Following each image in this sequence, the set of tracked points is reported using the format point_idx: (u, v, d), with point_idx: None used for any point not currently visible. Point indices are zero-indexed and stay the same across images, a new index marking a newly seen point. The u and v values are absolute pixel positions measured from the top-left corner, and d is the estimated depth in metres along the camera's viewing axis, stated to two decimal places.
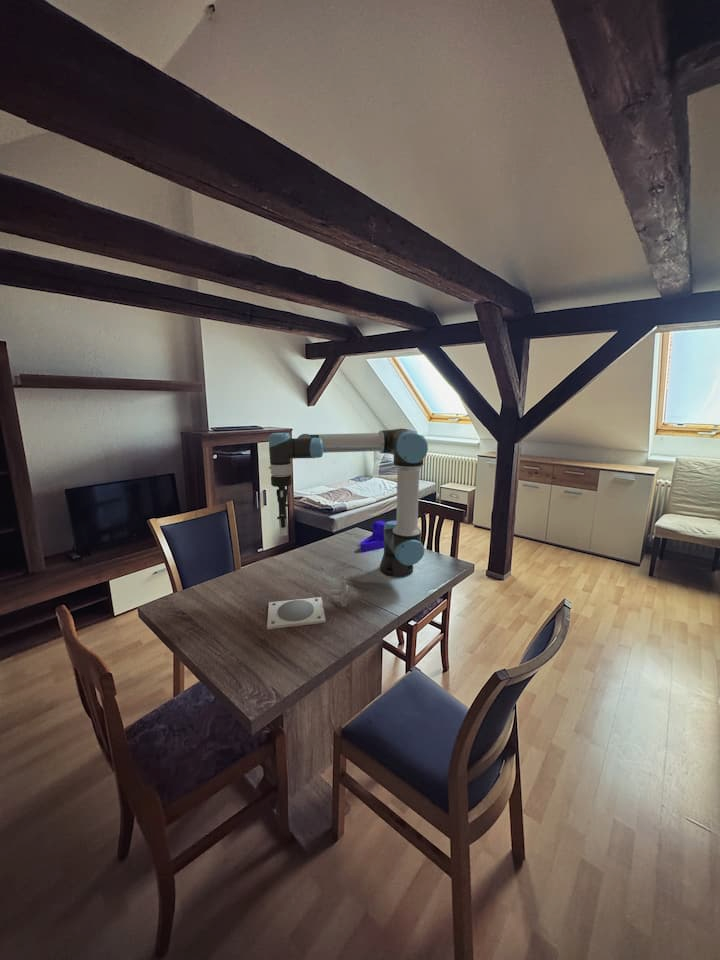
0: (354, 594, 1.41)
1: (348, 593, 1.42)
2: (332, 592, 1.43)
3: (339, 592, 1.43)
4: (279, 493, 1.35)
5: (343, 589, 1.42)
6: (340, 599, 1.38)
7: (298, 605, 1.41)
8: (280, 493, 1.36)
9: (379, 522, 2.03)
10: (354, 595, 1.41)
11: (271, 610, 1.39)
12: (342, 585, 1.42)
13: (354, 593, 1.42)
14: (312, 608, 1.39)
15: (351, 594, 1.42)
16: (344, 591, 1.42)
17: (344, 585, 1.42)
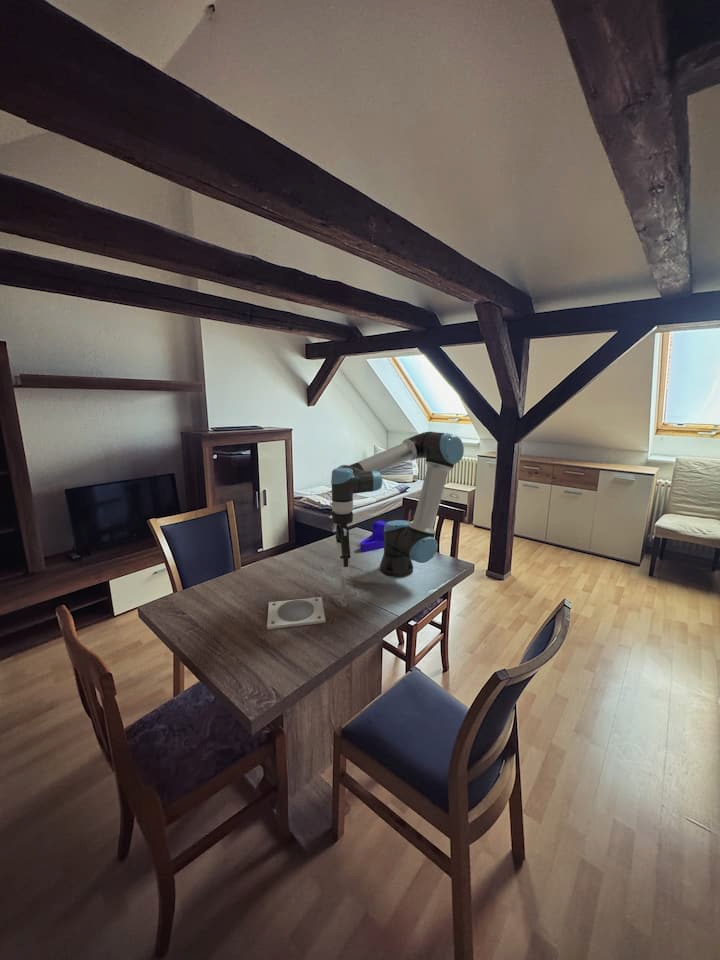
0: (354, 594, 1.41)
1: (348, 593, 1.42)
2: (332, 592, 1.43)
3: (339, 592, 1.43)
4: (343, 532, 1.31)
5: (343, 589, 1.42)
6: (340, 599, 1.38)
7: (298, 605, 1.41)
8: (344, 532, 1.31)
9: (379, 522, 2.03)
10: (354, 595, 1.41)
11: (271, 610, 1.39)
12: (342, 585, 1.42)
13: (354, 593, 1.42)
14: (312, 608, 1.39)
15: (351, 594, 1.42)
16: (344, 591, 1.42)
17: (344, 585, 1.42)
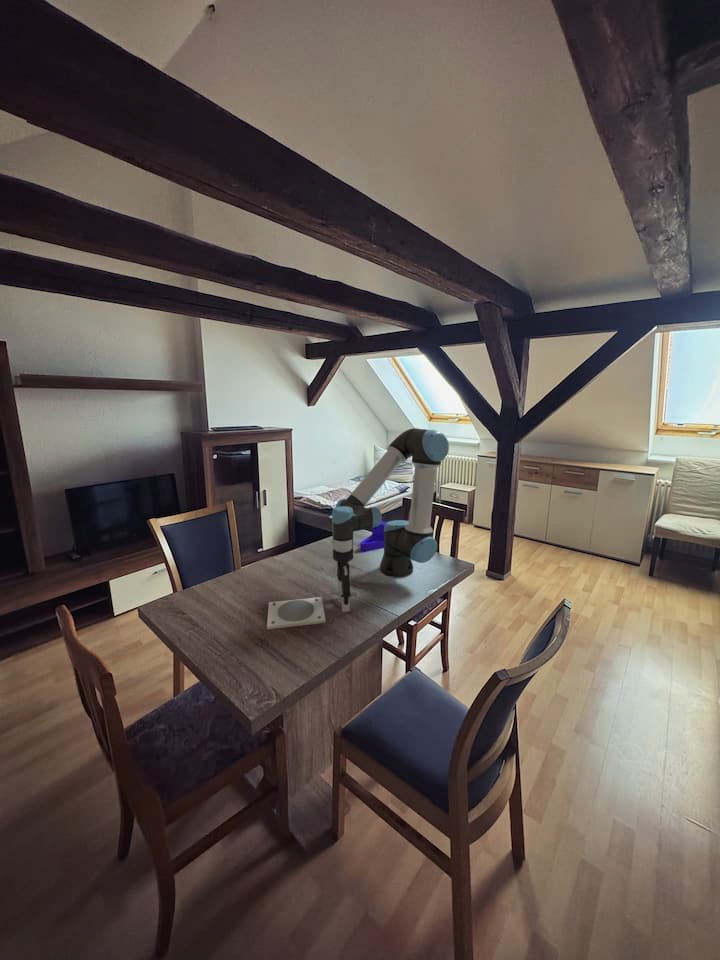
0: (354, 594, 1.41)
1: None
2: (332, 592, 1.43)
3: (339, 592, 1.43)
4: (343, 572, 1.34)
5: None
6: (340, 599, 1.38)
7: (298, 605, 1.41)
8: (344, 572, 1.34)
9: None
10: (354, 595, 1.41)
11: (271, 610, 1.39)
12: None
13: (354, 593, 1.42)
14: (312, 608, 1.39)
15: (351, 594, 1.42)
16: None
17: None
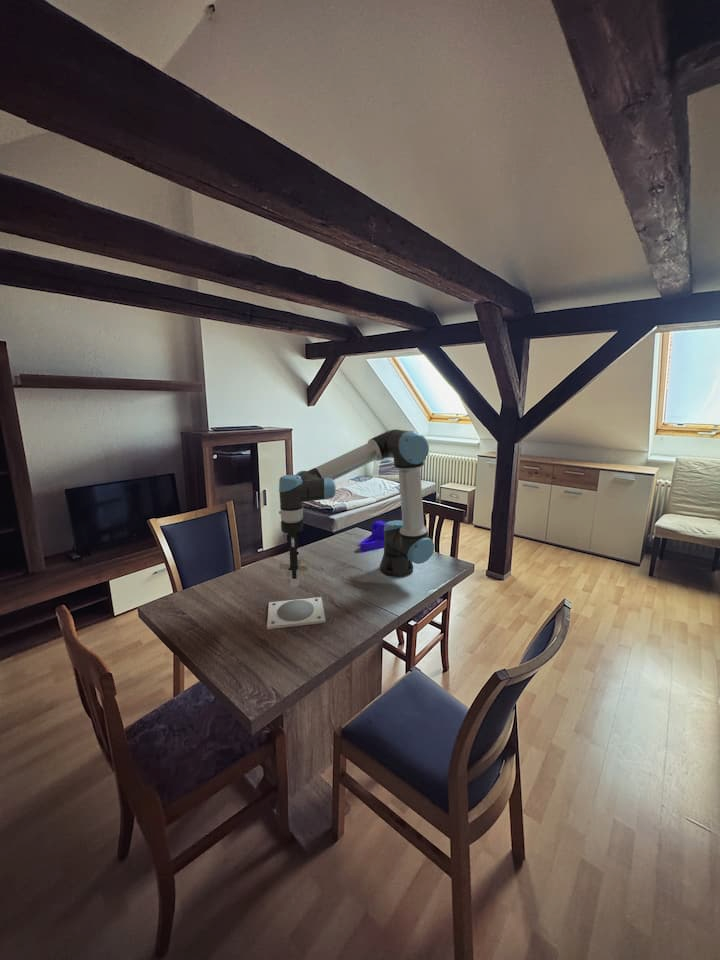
0: (305, 569, 1.33)
1: (298, 567, 1.34)
2: (281, 566, 1.35)
3: (289, 566, 1.35)
4: (290, 543, 1.26)
5: None
6: (288, 573, 1.30)
7: (298, 605, 1.41)
8: (291, 543, 1.26)
9: (378, 522, 2.03)
10: (304, 569, 1.33)
11: (271, 610, 1.39)
12: None
13: (304, 567, 1.34)
14: (312, 608, 1.39)
15: (301, 568, 1.34)
16: None
17: None
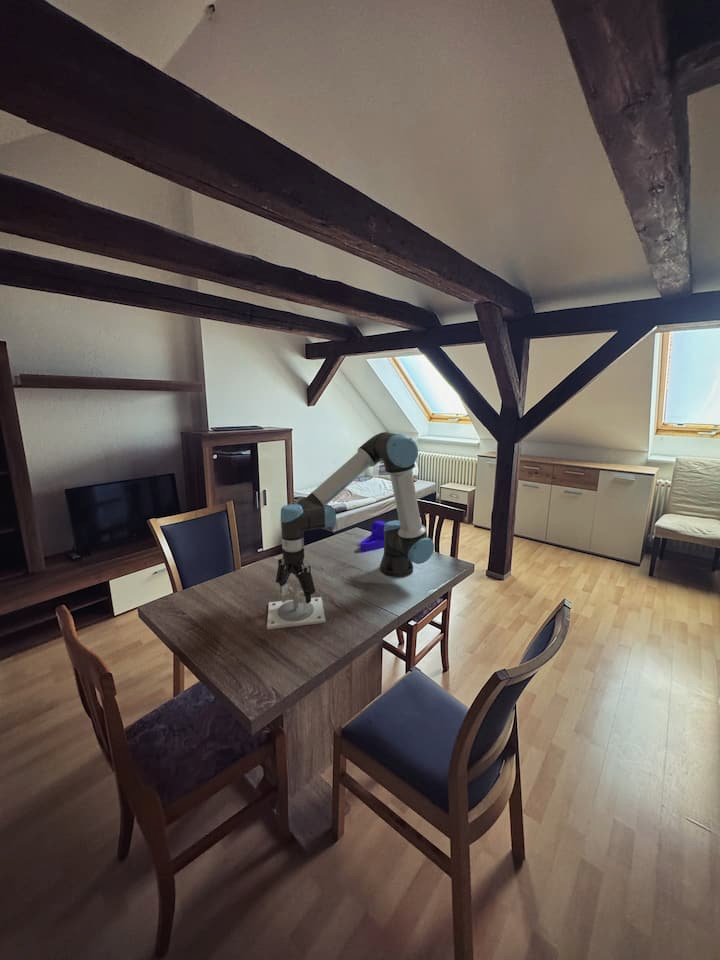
0: None
1: (301, 592, 1.38)
2: (285, 598, 1.34)
3: (292, 595, 1.36)
4: (306, 569, 1.31)
5: (296, 590, 1.36)
6: (301, 600, 1.33)
7: (298, 605, 1.41)
8: (307, 569, 1.31)
9: (378, 522, 2.03)
10: None
11: (271, 610, 1.39)
12: (295, 586, 1.36)
13: None
14: (312, 608, 1.39)
15: None
16: (297, 592, 1.37)
17: (297, 586, 1.36)
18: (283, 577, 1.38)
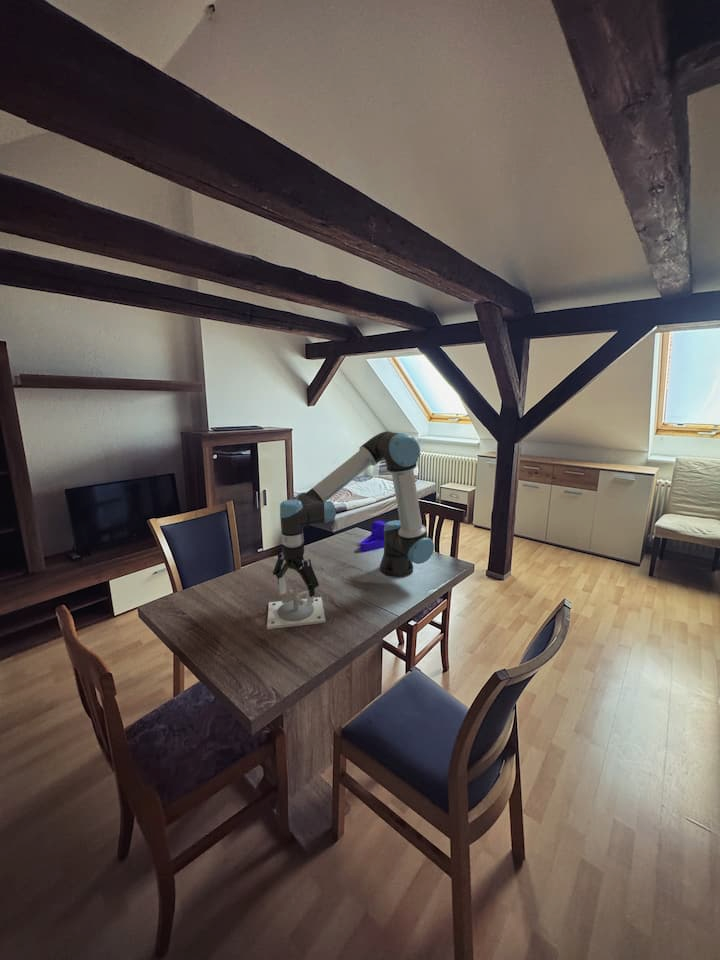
0: None
1: (301, 594, 1.38)
2: (285, 600, 1.35)
3: (292, 597, 1.36)
4: (306, 563, 1.30)
5: (296, 592, 1.37)
6: (301, 602, 1.33)
7: (298, 605, 1.41)
8: (307, 563, 1.30)
9: (378, 522, 2.03)
10: None
11: (271, 610, 1.39)
12: (295, 588, 1.36)
13: None
14: (312, 608, 1.39)
15: (304, 594, 1.39)
16: (297, 594, 1.37)
17: (296, 588, 1.37)
18: (281, 570, 1.38)
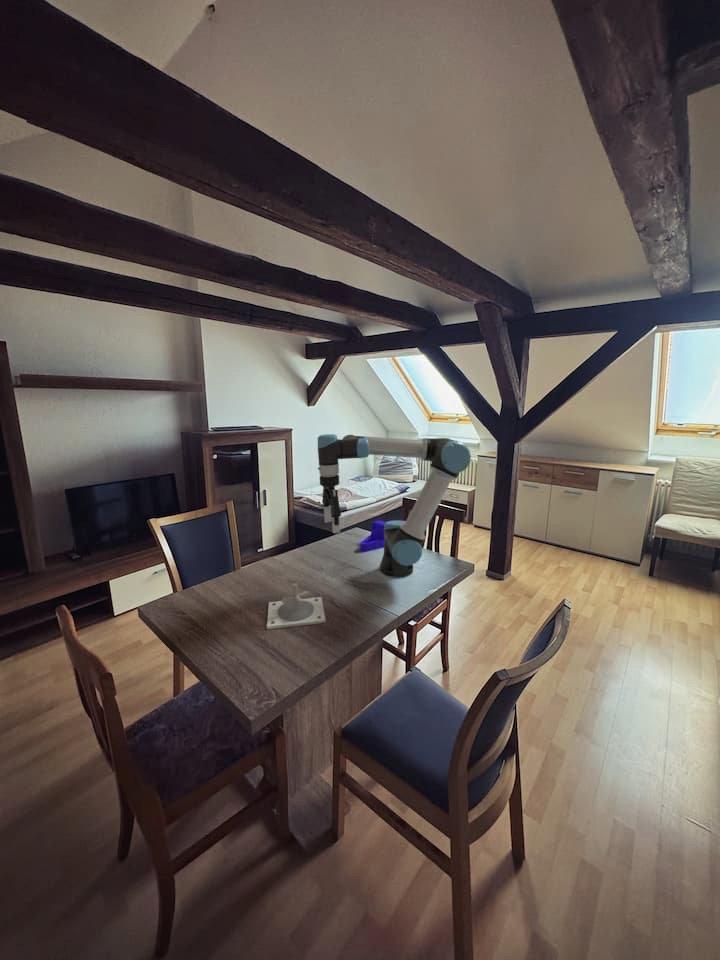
0: (308, 593, 1.39)
1: (301, 594, 1.38)
2: (285, 600, 1.35)
3: (292, 597, 1.36)
4: (332, 492, 1.41)
5: (296, 592, 1.37)
6: (301, 602, 1.33)
7: None
8: (333, 492, 1.41)
9: (378, 522, 2.03)
10: (307, 594, 1.39)
11: (271, 610, 1.39)
12: (295, 588, 1.36)
13: (307, 592, 1.39)
14: (312, 608, 1.39)
15: (304, 594, 1.39)
16: (297, 594, 1.37)
17: (297, 588, 1.37)
18: (324, 499, 1.54)
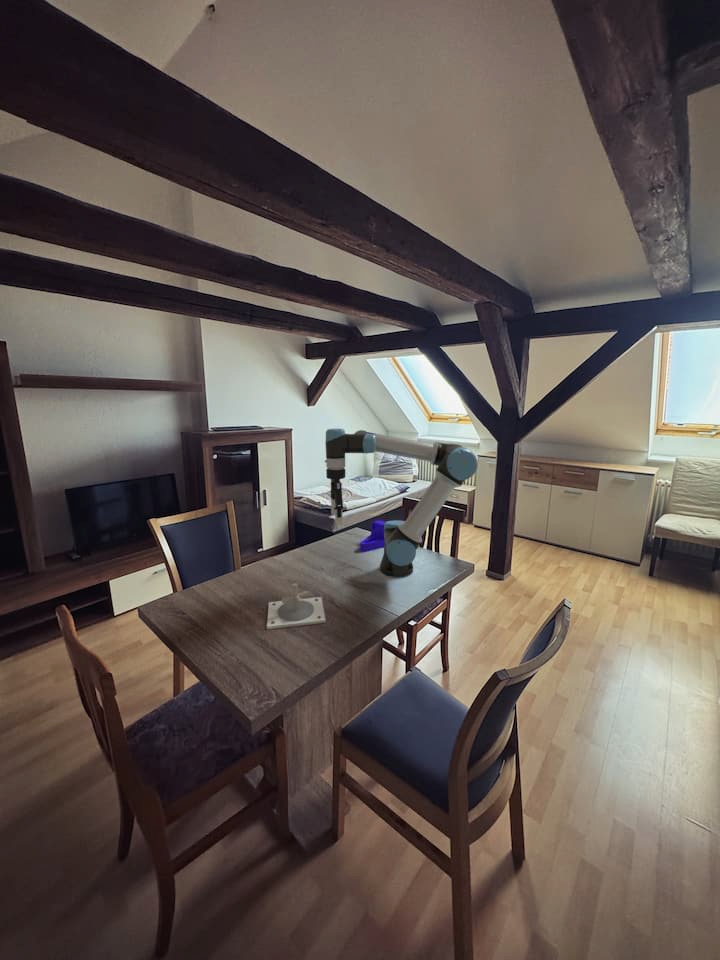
0: (308, 593, 1.39)
1: (301, 594, 1.38)
2: (285, 600, 1.35)
3: (292, 597, 1.36)
4: (336, 485, 1.44)
5: (296, 592, 1.37)
6: (301, 602, 1.33)
7: None
8: (337, 485, 1.44)
9: (378, 522, 2.03)
10: (307, 594, 1.39)
11: (271, 610, 1.39)
12: (295, 588, 1.36)
13: (307, 592, 1.39)
14: (312, 608, 1.39)
15: (304, 594, 1.39)
16: (297, 594, 1.37)
17: (297, 588, 1.37)
18: (331, 492, 1.57)
